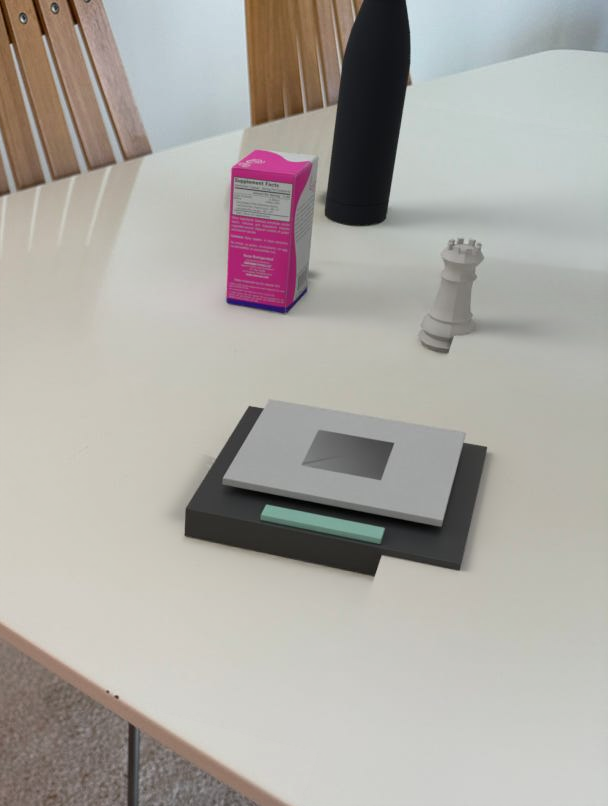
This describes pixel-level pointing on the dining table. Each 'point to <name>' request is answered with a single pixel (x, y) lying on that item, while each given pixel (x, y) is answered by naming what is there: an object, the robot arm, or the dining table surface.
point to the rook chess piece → (452, 297)
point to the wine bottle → (369, 113)
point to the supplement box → (270, 229)
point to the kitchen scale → (339, 489)
